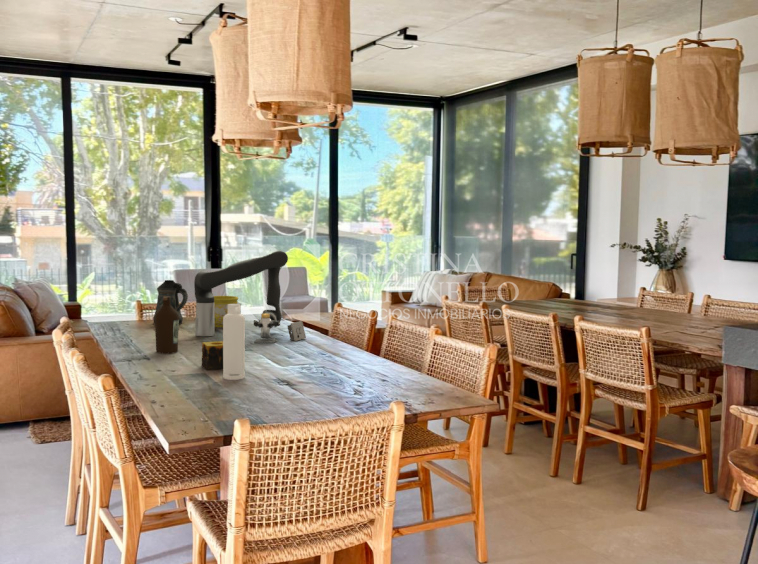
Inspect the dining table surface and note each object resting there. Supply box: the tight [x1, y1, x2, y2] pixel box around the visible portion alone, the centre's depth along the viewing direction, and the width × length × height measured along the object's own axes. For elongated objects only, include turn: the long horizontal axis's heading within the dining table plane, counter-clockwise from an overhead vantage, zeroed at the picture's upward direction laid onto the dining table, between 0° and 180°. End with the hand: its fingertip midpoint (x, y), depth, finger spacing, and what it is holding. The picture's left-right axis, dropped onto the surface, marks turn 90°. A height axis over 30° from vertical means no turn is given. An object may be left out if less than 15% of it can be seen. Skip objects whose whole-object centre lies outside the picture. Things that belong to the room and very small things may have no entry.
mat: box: [253, 338, 277, 344], centre depth 353 cm, size 10×10×1 cm
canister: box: [260, 312, 271, 339], centre depth 352 cm, size 4×4×12 cm
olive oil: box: [153, 297, 180, 354], centre depth 320 cm, size 11×11×25 cm
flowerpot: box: [213, 295, 239, 328], centre depth 403 cm, size 18×18×16 cm
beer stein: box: [152, 279, 189, 325], centre depth 409 cm, size 16×19×25 cm
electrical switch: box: [286, 320, 307, 342], centre depth 360 cm, size 9×5×9 cm, turn 152°
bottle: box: [222, 303, 246, 381], centre depth 269 cm, size 8×8×28 cm
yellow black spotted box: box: [201, 340, 223, 371], centre depth 288 cm, size 10×10×10 cm
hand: (264, 325), depth 350 cm, fingers closed on canister, 4 cm apart
